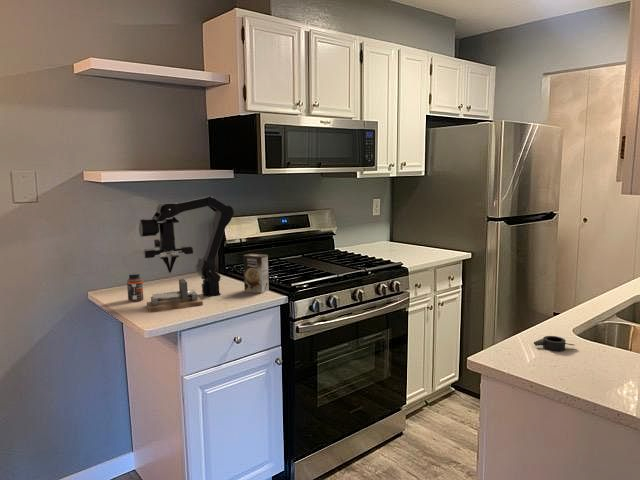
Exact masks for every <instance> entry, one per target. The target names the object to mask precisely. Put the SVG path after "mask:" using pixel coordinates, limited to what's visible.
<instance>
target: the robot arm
mask: <svg viewBox="0 0 640 480" xmlns="http://www.w3.org/2000/svg"><path fill="white" fill-rule="evenodd" d="M205 207H208V208H209V209H210V210H212V211H213V212H214V226H213V229H212V232H211V234H210V239H209V242H208V245H207V248H206V251H205V254H204V256H203V257H202V258H198V260H197V263H196V266H195V268H196V274H198V276H200V277H201V279H202V284H201V293H202V294H203V296H204V297H211V296H220V295H222V294H221V292H220V281H221V276H222V275H220V274H218V273H217V271H216V269H217V268H216V267H217V263H216V262H217V261H216V258H217V255H218V251H219V249H220V246H221V243H222V239H223V236H224V234H225V230H226V227H227V226H228V225H229V223H230V222H231V221H232V218H233V217H234V214H235V210H234V209H233V207H232V206H231V205H227V204H225V203H223V202H221V201H219V200H217V199H216V198H215V197H213V196H211V195H205V196H203V197H199V198H194V199H190V200H186V201H180V202H161V203H159V204H158V205H157V207H156V211H155V213H154V214H153V216H152V217H151V218H149V219H147V218H145V219H144V218H142V219H139V225H138V233H139V236H140V238H144V237H153V236H154V237H155V236H157V235H158V234H159V239H157V238H156V239H153V246H154V248H155V249H154V248H145V249H143V252H142V254H143V258H144V259H152V258H155V257H156V256H158V258H159V259H161V260H162V261H163V263H164V264H165V267H166V269H167V271H168V273H172V270H173V268H174V264H175V262H176V259H177V258H180V255H179V253H184V254H185V255H192V254H194V248H193V247H192V246H191V245H181V246H180V247H179V248H177V247H176V235H175V224H176V223H180V221H179V219H177V218H176V217H175V216H177V215H180V214H181V213H183V212H188V211H193V210H196V209H201V208H205ZM157 248H158V249H157ZM167 255H168V256H167Z"/></svg>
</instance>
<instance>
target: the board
mask: <svg viewBox="0 0 640 480" xmlns="http://www.w3.org/2000/svg"><path fill="white" fill-rule="evenodd" d="M203 305H204V301H203V300H202V299H201V298H200V297H199V296H198V295H197V300H196V301H192V300H191V299H190V297H189V298H188V302H183V301H182V299H173V300H165V301H158V306H153V305H152V304H151V301H146V307H147V309H148V311H149V313H154V312H162V311H167V310H168V311H169V310H174V309H176V310H177V309H185V308H190V307H197V306H203Z"/></svg>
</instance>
